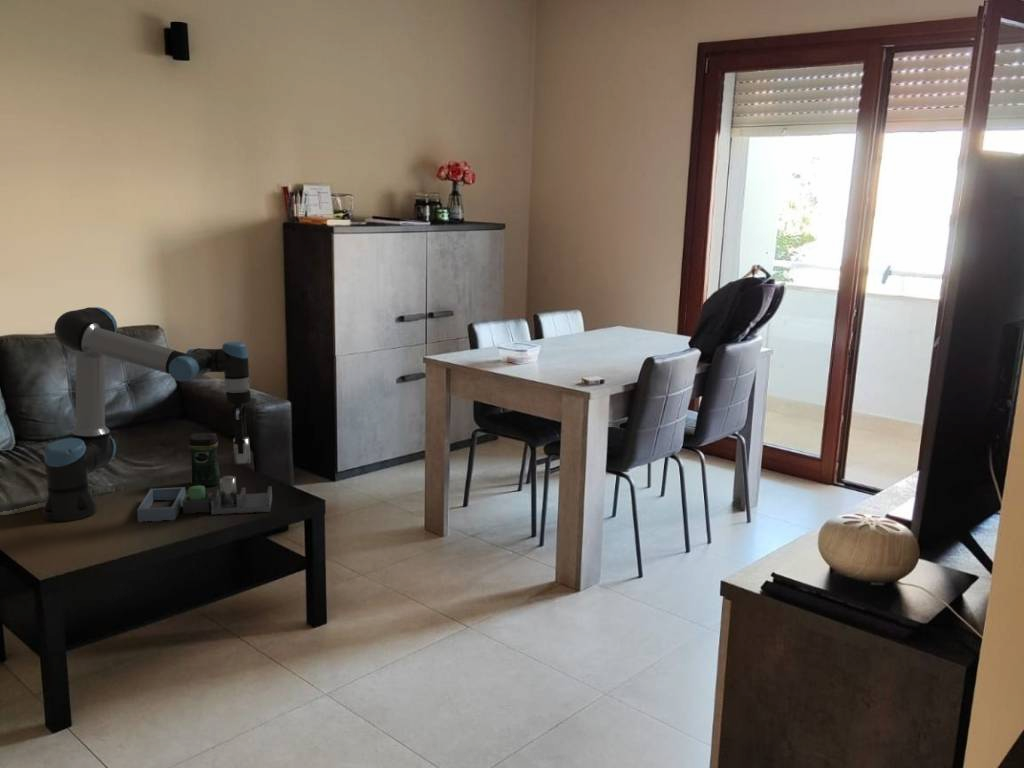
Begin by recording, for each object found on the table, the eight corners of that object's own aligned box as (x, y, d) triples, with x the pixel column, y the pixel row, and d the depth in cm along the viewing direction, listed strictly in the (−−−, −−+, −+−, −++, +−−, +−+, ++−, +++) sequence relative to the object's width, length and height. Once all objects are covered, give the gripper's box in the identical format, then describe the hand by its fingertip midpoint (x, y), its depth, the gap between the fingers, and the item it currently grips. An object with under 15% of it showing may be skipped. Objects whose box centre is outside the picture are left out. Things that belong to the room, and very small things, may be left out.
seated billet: (220, 504, 286) (218, 480, 285) (221, 499, 291) (220, 476, 289) (236, 503, 287) (234, 479, 286) (237, 498, 292) (236, 475, 290)
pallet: (211, 515, 282) (210, 501, 281) (216, 501, 295) (215, 488, 294) (269, 511, 285) (269, 498, 284) (272, 498, 299) (271, 485, 298)
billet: (234, 464, 285) (232, 440, 283) (235, 460, 289) (233, 437, 288) (250, 463, 285) (248, 439, 284) (251, 459, 290) (249, 436, 289)
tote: (137, 522, 274) (137, 510, 274) (151, 500, 296) (150, 488, 295) (175, 520, 277) (174, 507, 276) (185, 498, 298) (185, 487, 297)
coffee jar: (222, 480, 318) (220, 430, 315) (216, 487, 311) (214, 436, 307) (195, 481, 318) (192, 430, 314) (188, 487, 310) (185, 436, 306)
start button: (188, 508, 284) (187, 490, 283) (190, 503, 289) (189, 485, 288) (204, 507, 285) (203, 489, 284) (206, 502, 290) (205, 485, 289)
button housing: (183, 513, 283) (182, 501, 282) (186, 505, 290) (186, 494, 290) (209, 512, 284) (208, 500, 284) (212, 504, 292) (211, 492, 291)
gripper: (247, 395, 275) (252, 467, 279) (252, 384, 292) (256, 452, 297) (222, 396, 274) (227, 468, 278) (228, 385, 291) (233, 454, 295)
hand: (242, 460), depth 287 cm, fingers closed on billet, 5 cm apart
